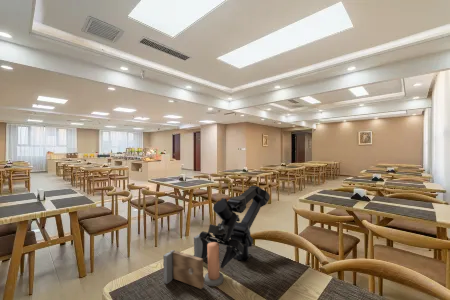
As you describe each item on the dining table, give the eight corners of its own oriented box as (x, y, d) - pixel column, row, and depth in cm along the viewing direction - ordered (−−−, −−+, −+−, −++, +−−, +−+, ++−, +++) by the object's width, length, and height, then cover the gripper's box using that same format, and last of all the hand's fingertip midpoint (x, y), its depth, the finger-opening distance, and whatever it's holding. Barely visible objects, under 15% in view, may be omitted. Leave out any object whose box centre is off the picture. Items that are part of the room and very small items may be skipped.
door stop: (211, 273, 85) (210, 239, 85) (226, 278, 82) (225, 242, 82) (200, 282, 79) (200, 246, 79) (216, 288, 76) (216, 250, 76)
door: (168, 278, 82) (167, 252, 82) (172, 275, 84) (172, 249, 84) (199, 290, 74) (198, 261, 74) (203, 286, 77) (203, 258, 77)
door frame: (201, 254, 101) (201, 232, 101) (204, 255, 100) (204, 233, 100) (164, 282, 80) (163, 255, 80) (166, 284, 79) (166, 256, 79)
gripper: (201, 211, 89) (182, 248, 80) (239, 219, 79) (222, 262, 69) (213, 225, 96) (196, 260, 87) (250, 233, 85) (235, 275, 76)
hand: (211, 264), depth 80 cm, fingers open, 9 cm apart
